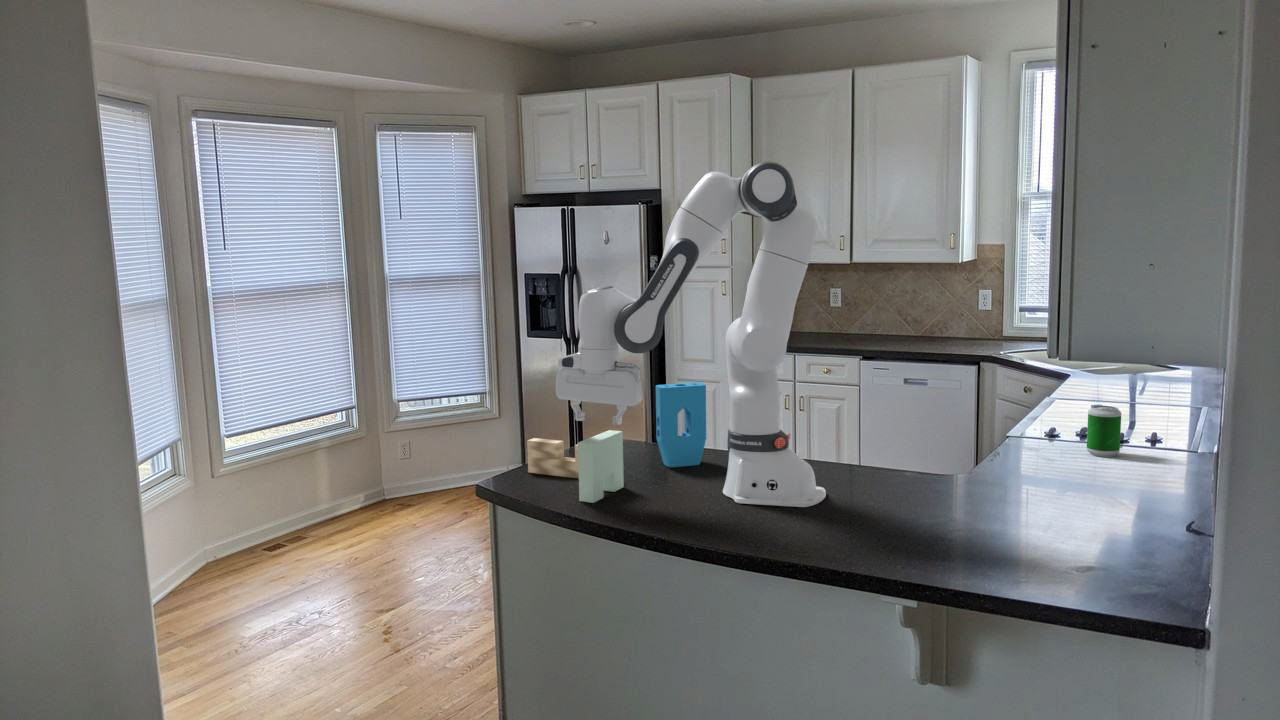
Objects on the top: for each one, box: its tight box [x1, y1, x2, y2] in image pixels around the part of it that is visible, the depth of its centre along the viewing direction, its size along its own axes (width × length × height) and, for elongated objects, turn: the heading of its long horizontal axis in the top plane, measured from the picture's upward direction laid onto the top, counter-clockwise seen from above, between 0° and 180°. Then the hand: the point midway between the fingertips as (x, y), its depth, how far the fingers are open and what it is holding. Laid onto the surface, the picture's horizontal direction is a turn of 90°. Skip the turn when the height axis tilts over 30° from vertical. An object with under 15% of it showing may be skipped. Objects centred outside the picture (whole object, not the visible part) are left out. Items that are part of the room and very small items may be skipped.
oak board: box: [526, 437, 579, 479], centre depth 229 cm, size 22×3×8 cm, turn 63°
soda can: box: [1086, 405, 1122, 458], centre depth 240 cm, size 8×8×12 cm
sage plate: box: [577, 429, 625, 504], centre depth 212 cm, size 4×14×13 cm, turn 153°
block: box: [655, 382, 707, 468], centre depth 237 cm, size 12×5×20 cm, turn 106°
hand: (598, 422), depth 211 cm, fingers open, 8 cm apart
